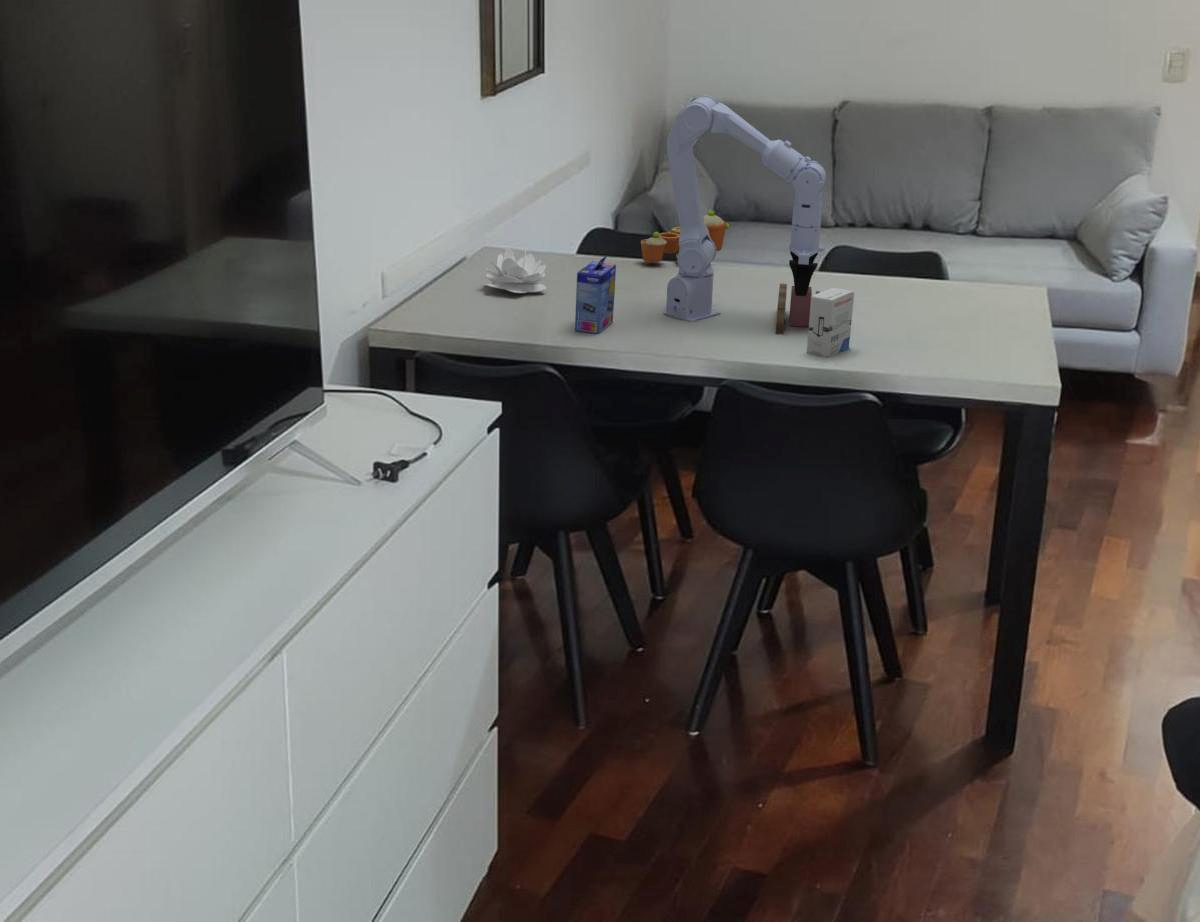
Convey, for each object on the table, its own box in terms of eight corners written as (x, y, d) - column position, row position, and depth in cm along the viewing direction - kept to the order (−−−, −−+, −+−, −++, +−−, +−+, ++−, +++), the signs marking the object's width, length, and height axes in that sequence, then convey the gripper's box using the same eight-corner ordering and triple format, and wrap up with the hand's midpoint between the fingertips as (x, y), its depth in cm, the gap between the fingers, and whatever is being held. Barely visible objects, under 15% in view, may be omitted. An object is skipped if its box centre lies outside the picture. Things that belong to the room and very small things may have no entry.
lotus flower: (522, 300, 308) (522, 260, 305) (468, 288, 316) (467, 249, 313) (562, 286, 319) (562, 247, 316) (509, 275, 327) (508, 237, 324)
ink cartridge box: (600, 335, 287) (601, 263, 281) (573, 332, 288) (574, 260, 283) (615, 321, 296) (617, 251, 290) (589, 318, 297) (590, 249, 292)
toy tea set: (675, 238, 363) (676, 200, 359) (732, 246, 357) (734, 207, 353) (629, 261, 342) (631, 220, 338) (690, 270, 335) (692, 229, 331)
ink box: (828, 344, 284) (833, 285, 280) (850, 349, 282) (855, 290, 277) (805, 354, 278) (809, 294, 274) (827, 359, 275) (832, 299, 271)
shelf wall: (783, 334, 290) (785, 307, 288) (775, 333, 290) (777, 307, 288) (785, 309, 306) (787, 283, 304) (778, 308, 306) (779, 283, 304)
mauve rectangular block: (809, 326, 295) (811, 293, 292) (789, 325, 295) (791, 292, 293) (808, 319, 300) (811, 286, 297) (789, 318, 300) (791, 285, 297)
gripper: (826, 234, 283) (820, 301, 288) (826, 217, 296) (820, 282, 301) (790, 232, 283) (785, 299, 289) (791, 215, 297) (786, 280, 302)
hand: (801, 290), depth 295 cm, fingers open, 7 cm apart
